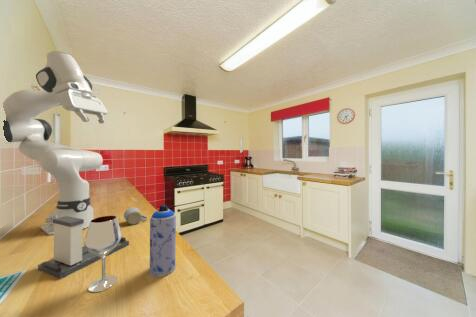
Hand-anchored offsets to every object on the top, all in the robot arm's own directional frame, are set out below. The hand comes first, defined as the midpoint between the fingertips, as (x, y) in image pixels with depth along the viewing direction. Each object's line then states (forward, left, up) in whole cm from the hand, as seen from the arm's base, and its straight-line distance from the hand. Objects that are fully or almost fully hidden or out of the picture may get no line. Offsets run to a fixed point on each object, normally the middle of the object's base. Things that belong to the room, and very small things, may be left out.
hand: (94, 122), depth 75 cm
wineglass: (+34, -17, -51) cm, 63 cm away
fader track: (+14, -10, -51) cm, 54 cm away
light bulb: (0, +20, -51) cm, 55 cm away
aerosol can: (+44, -6, -51) cm, 68 cm away
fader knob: (+14, -16, -49) cm, 53 cm away
